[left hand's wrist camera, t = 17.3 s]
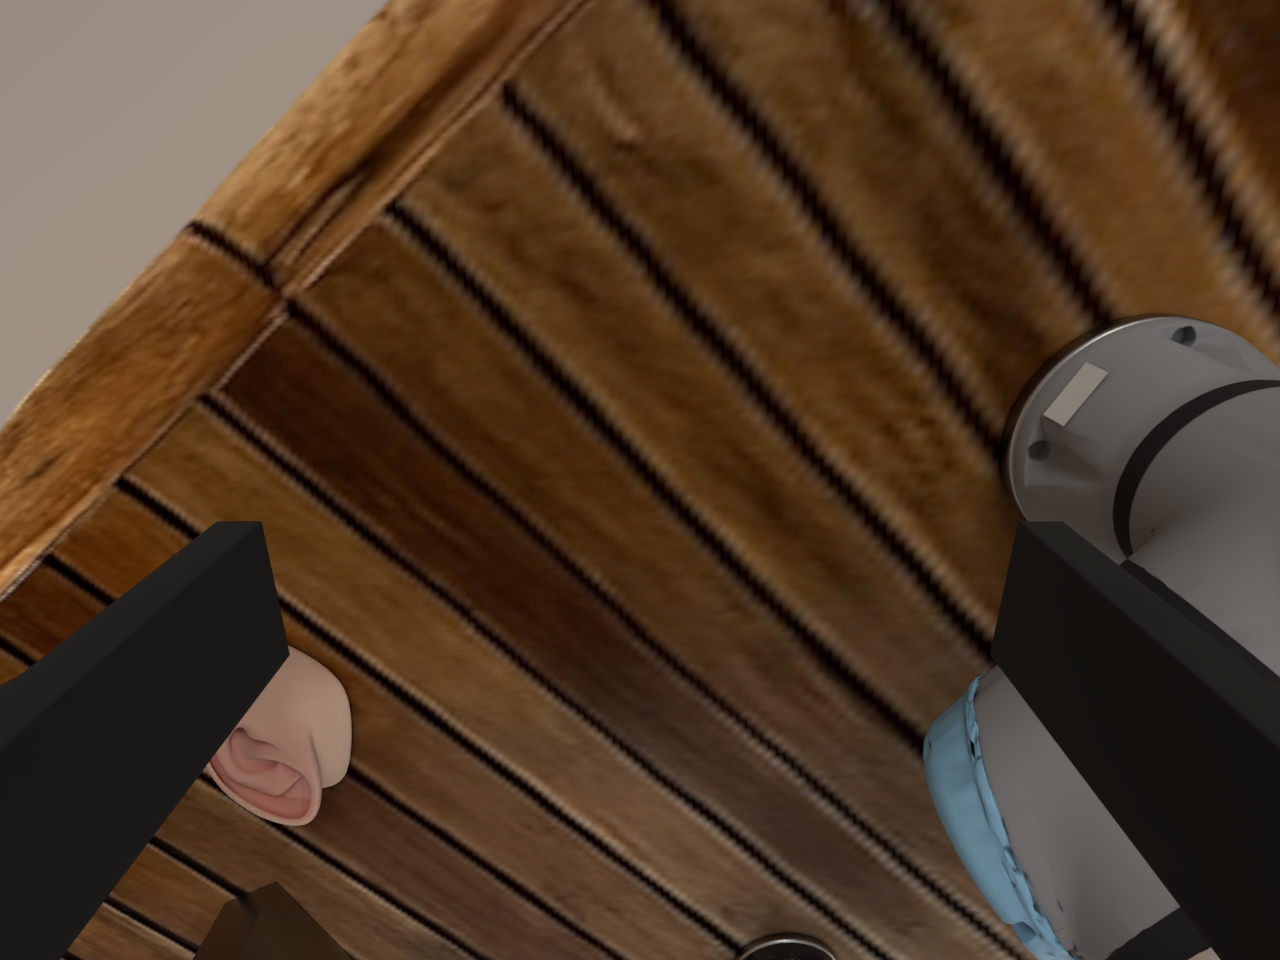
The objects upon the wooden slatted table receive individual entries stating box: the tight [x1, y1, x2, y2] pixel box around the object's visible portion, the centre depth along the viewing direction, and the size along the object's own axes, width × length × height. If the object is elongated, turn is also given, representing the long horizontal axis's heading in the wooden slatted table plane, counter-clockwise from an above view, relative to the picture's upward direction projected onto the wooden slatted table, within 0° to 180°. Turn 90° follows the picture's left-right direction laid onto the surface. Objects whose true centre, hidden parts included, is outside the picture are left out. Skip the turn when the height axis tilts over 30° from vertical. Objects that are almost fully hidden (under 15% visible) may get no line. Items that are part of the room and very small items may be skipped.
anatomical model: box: [206, 645, 352, 826], centre depth 51 cm, size 13×4×12 cm
